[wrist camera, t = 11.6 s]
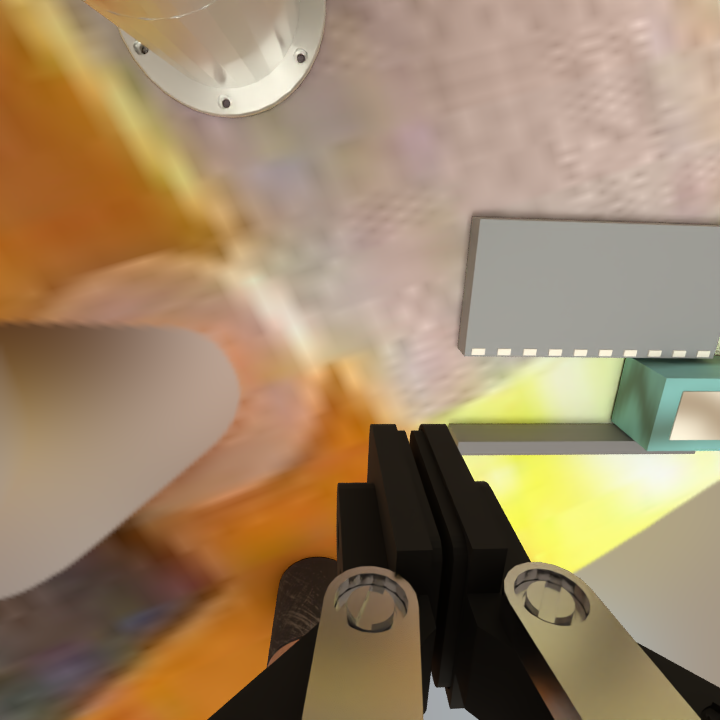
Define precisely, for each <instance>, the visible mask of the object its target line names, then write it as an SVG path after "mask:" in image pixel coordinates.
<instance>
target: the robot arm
mask: <svg viewBox="0 0 720 720" xmlns="http://www.w3.org/2000/svg"><path fill="white" fill-rule="evenodd" d="M82 1H84V2H85V3H87V4H88V5H89V6H91V7H92V8H93V9H95V10H96V11H97V12H99V13H100V14H102V15H103V16H104V17H106V18H107V19H108V20H110V21H111V22H112V23H114V24H115V25H117V26H118V29H119V32H120V34H121V37H122V39H123V41H124V43H125V45H126V46H127V48H128V50H129V52H130V54H131V55H132V57H133V59H134V60H135V62H136V63H137V64H138V66H139V67H140V68H141V69H142V71H143V72H144V73H145V74H146V76H147V77H148V78H149V79H150V80H151V81H152V82H153V83H154V84H155V85H157V86H158V87H159V88H160V89H161V90H162V91H163V92H164V93H166V94H167V95H169V96H170V97H172V98H173V99H175V100H176V101H178V102H179V103H181V104H183V105H185V106H187V107H189V108H191V109H193V110H195V111H199V112H202V113H205V114H208V115H212V116H218V117H228V118H237V117H246V116H252V115H255V114H258V113H261V112H264V111H267V110H269V109H271V108H273V107H274V106H276V105H278V104H279V103H281V102H283V101H284V100H285V99H286V98H287V97H289V96H290V95H291V94H292V93H293V92H294V91H295V90H296V89H297V88H298V87H299V86H300V84H301V83H302V82H303V80H304V79H305V77H306V76H307V75H308V73H309V72H310V70H311V68H312V66H313V63H314V61H315V59H316V57H317V55H318V52H319V49H320V45H321V41H322V37H323V34H324V26H325V17H326V0H82ZM144 46H145V47H147V48H148V52H147V54H143V52H142V48H143V47H144ZM299 55H303V56H304V57H305V61H304V62H303V63H299V62H298V61H297V57H298V56H299ZM225 100H229V101H230V106H229V108H225V107H224V106H223V102H224V101H225ZM337 569H338V576H337V577H336V578H335V579H334V580H333V581H332V582H331V583H330V585H329V586H328V588H327V591H326V593H325V596H324V600H323V606H322V611H321V617H320V622H319V623H318V624H317V625H316V626H314V627H313V628H312V629H311V630H310V631H309V632H308V633H306V634H305V635H304V636H303V637H302V638H301V639H299V640H298V641H297V642H296V643H295V644H294V645H293V646H291V647H290V648H289V649H288V650H287V651H286V652H285V653H283V654H282V655H281V656H280V657H279V658H278V659H277V660H275V661H274V662H273V663H272V664H271V665H270V666H268V667H267V668H266V669H265V670H264V671H263V672H262V673H260V674H259V675H258V676H257V677H256V678H255V679H254V680H252V681H251V682H250V683H249V684H248V685H247V686H246V687H244V688H243V689H242V690H241V691H240V692H239V693H237V694H236V695H235V696H234V697H233V698H232V699H231V700H229V701H228V702H227V703H226V704H225V705H224V706H223V707H221V708H220V709H219V710H218V711H217V712H216V713H215V714H213V715H212V716H211V717H210V718H209V719H208V720H423V714H424V713H425V711H426V709H427V700H428V692H429V684H430V676H431V672H432V677H433V681H434V684H435V686H436V687H445V690H446V694H447V698H448V702H449V707H450V709H455V708H465V709H466V710H467V711H468V712H470V713H471V714H472V715H474V716H475V717H476V718H477V719H479V720H720V688H719V687H717V686H716V685H714V684H712V683H710V682H708V681H706V680H705V679H703V678H701V677H699V676H697V675H695V674H693V673H692V672H690V671H688V670H686V669H684V668H682V667H681V666H679V665H677V664H675V663H673V662H671V661H670V660H668V659H666V658H664V657H662V656H661V655H659V654H657V653H655V652H653V651H652V650H649V649H648V648H646V647H644V646H642V645H641V644H639V643H637V642H636V641H635V640H634V639H633V638H632V637H631V635H630V634H629V633H628V632H627V631H626V629H625V628H624V627H623V626H622V625H621V624H620V622H619V621H618V620H617V619H616V618H615V616H614V615H613V614H612V613H611V612H610V610H609V609H608V608H607V607H606V606H605V605H604V603H603V602H602V601H601V600H600V599H599V597H598V596H597V595H596V594H595V593H594V591H593V590H592V589H591V588H590V587H589V586H588V585H586V583H585V582H584V581H583V580H581V579H580V578H578V577H577V576H575V575H574V574H572V573H571V572H569V571H568V570H565V569H563V568H560V567H558V566H555V565H552V564H547V563H542V562H531V561H530V559H529V557H528V556H527V554H526V552H525V550H524V548H523V546H522V545H521V543H520V541H519V539H518V537H517V535H516V533H515V532H514V530H513V528H512V526H511V524H510V522H509V521H508V519H507V517H506V515H505V513H504V511H503V509H502V508H501V506H500V504H499V502H498V500H497V498H496V496H495V495H494V493H493V491H492V489H491V487H490V486H489V484H488V483H487V482H484V481H474V479H473V477H472V475H471V473H470V471H469V469H468V467H467V465H466V463H465V461H464V459H463V457H462V455H461V453H460V451H459V449H458V447H457V445H456V443H455V441H454V439H453V437H452V435H451V433H450V431H449V429H448V427H447V426H446V424H421V425H420V427H419V431H411V434H410V444H409V441H408V438H407V435H406V432H405V431H397V427H396V425H395V424H371V425H370V434H369V454H368V475H367V483H338V487H337Z"/></svg>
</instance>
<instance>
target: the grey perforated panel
mask: <svg viewBox="0 0 720 720" xmlns="http://www.w3.org/2000/svg"><path fill="white" fill-rule="evenodd" d="M719 337H720V225H707V224H676V223H646V222H615V221H585V220H554V219H524V218H493V217H472V222H471V231H470V241H469V250H468V259H467V268H466V277H465V286H464V295H463V304H462V313H461V322H460V331H459V340H458V349H459V350H460V351H461V352H462V354H463V355H464V356H501V357H604V358H707V359H713V357H714V354H715V351H716V347H717V344H718V341H719ZM449 431H450V433H451V435H452V437H453V439H454V441H455V443H456V445H457V447H458V449H459V451H460V453H461V455H572V454H695V451H646V450H645V449H644V448H643V447H642V446H640V445H639V444H638V443H637V442H636V441H634V440H633V439H632V438H631V437H630V436H629V435H627V434H626V433H625V432H624V431H623V430H621V429H620V428H619V427H618V426H617V425H616V424H449Z"/></svg>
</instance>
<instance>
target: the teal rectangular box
mask: <svg viewBox="0 0 720 720" xmlns="http://www.w3.org/2000/svg"><path fill="white" fill-rule="evenodd" d="M611 421H612V422H613V423H614V424H616V425H617V426H618V427H619V428H620V429H621V430H623V431H624V432H625V433H626V434H627V435H629V436H630V437H631V438H632V439H633V440H634V441H636V442H637V443H638V444H639V445H640V446H642V447H643V448H644V449H645V450H646V451H720V356H714V357H713V359H707V358H626V360H625V364H624V368H623V372H622V377H621V381H620V385H619V389H618V394H617V398H616V402H615V406H614V410H613V415H612V419H611Z"/></svg>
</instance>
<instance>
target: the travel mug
mask: <svg viewBox="0 0 720 720" xmlns="http://www.w3.org/2000/svg"><path fill="white" fill-rule="evenodd" d="M337 576H338V569H337V561H335V560H332V559H329V558H323V557H314V558H307V559H304V560H301V561H299V562H297V563H295V564H293V565H292V566H290V567H289V568H288V569H287V570H286V572H285V573H284V574H283V576H282V578H281V580H280V584H279V588H278V594H277V601H276V608H275V615H274V621H273V628H272V635H271V642H270V649H269V656H268V663H267V667H268V666H270V665H271V664H272V663H273V662H274V661H275V660H277V659H278V658H279V657H280V656H281V655H282V654H283V653H285V652H286V651H287V650H288V649H289V648H290V647H291V646H293V645H294V644H295V643H296V642H297V641H298V640H299V639H301V638H302V637H303V636H304V635H305V634H306V633H308V632H309V631H310V630H311V629H312V628H313V627H314V626H316V625H317V624H318V623H319V622H320V617H321V611H322V606H323V600H324V596H325V593H326V591H327V588H328V586H329V585H330V583H331V582H332V581H333V580H334V579H335V578H336V577H337Z"/></svg>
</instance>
